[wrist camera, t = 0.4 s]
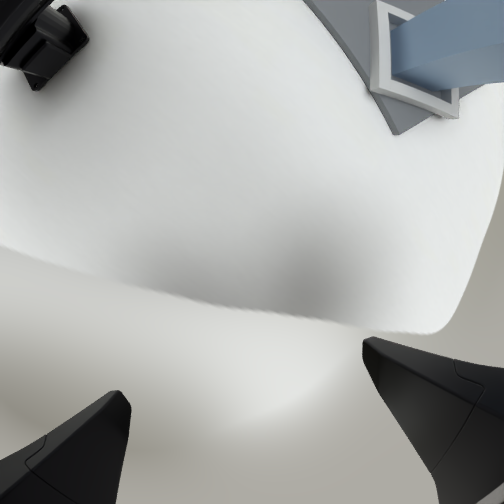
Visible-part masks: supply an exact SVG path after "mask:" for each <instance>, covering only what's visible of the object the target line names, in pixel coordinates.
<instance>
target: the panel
mask: <svg viewBox="0 0 504 504" xmlns="http://www.w3.org/2000/svg"><path fill="white" fill-rule="evenodd" d="M444 1H445V0H304V2H305V3H306V4H307V5H308V6H309V7H310V8H311V10H312V11H313V12H314V13H315V14H316V16H317V17H318V18H319V19H320V20H321V22H322V23H323V24H324V25H325V27H326V28H327V29H328V31H329V32H330V33H331V34H332V36H333V37H334V38H335V40H336V41H337V42H338V44H339V45H340V47H341V48H342V49H343V51H344V52H345V54H346V55H347V56H348V58H349V59H350V61H351V62H352V64H353V65H354V67H355V68H356V70H357V71H358V73H359V75H360V76H361V78H362V79H363V81H364V83H365V84H366V86H367V87H368V89H369V91H370V92H371V94H372V96H373V98H374V99H375V101H376V103H377V105H378V106H379V108H380V110H381V112H382V114H383V115H384V117H385V119H386V121H387V123H388V125H389V127H390V129H391V131H392V133H393V135H400V134H402V133H403V132H405V131H407V130H408V129H410V128H412V127H413V126H415V125H417V124H418V123H420V122H422V121H423V120H425V119H426V118H428V117H430V116H431V115H433V114H438V115H440V116H442V117H445V118H447V119H459V99H460V98H462V97H463V96H465V95H467V94H469V93H470V92H472V91H474V90H475V89H477V88H479V87H481V86H482V85H484V84H481V85H473V86H465V87H458V88H452V89H446V90H440V91H435V92H432V91H430V90H428V89H425V88H423V87H421V86H418V85H416V84H413V83H411V82H408V81H406V80H403V79H400V78H398V77H395V76H392V53H391V32H390V31H391V30H393V29H395V28H396V27H398V26H400V25H401V24H403V23H405V22H406V21H408V20H410V19H412V18H413V17H415V16H417V15H419V14H421V13H423V12H424V11H426V10H428V9H430V8H432V7H434V6H436V5H438V4H440V3H442V2H444Z"/></svg>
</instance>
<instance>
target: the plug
mask: <svg viewBox="0 0 504 504" xmlns="http://www.w3.org/2000/svg"><path fill="white" fill-rule="evenodd" d="M390 32H391V53H392V76H395V77H398V78H400V79H403V80H406V81H408V82H411V83H413V84H416V85H418V86H421V87H423V88H425V89H428V90H430V91H432V92H435V91H440V90H446V89H452V88H458V87H465V86H473V85H481V84H490V83H500V82H504V0H446V1H444V2H442V3H440V4H438V5H436V6H434V7H432V8H430V9H428V10H426V11H424V12H423V13H421V14H419V15H417V16H415V17H413V18H412V19H410V20H408V21H406V22H405V23H403V24H401V25H400V26H398V27H396V28H395V29H393V30H391V31H390Z"/></svg>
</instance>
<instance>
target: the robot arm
mask: <svg viewBox="0 0 504 504" xmlns="http://www.w3.org/2000/svg"><path fill="white" fill-rule="evenodd" d="M53 1H54V0H0V65H2V66H6V67H10V68H13V69H17V70H21V71H23V72H24V74H25V76H26V79H27V81H28V83H29V85H30V87H31V89H32V90H33V91H39V90H40V89H41V88H42V87H43V85H44V84H45V83H46V82H47V81H48V80H49V79H50V78H51V77H52V76H53V75H54V74H55V73H56V72H57V71H58V70H59V69H60V68H61V67H62V66H63V65H64V64H65V63H66V62H67V61H68V60H69V59H70V58H71V57H72V56H73V55H74V54H75V53H77V52H78V51H79V50H80V49H81V48H82V47H83V46H84V45H86V44H87V42H88V41H89V37H88V35H87V34H86V32H85V31H84V29H83V28H82V27H81V25H80V24H79V22H78V21H77V19H76V18H75V16H74V15H73V13H72V12H71V10H70V9H69V8H68V6H66V5H62V6H61V7H59V8H58V9H57V10H55V9H54V8H52V7H51V6H49V5H50V4H51V3H52V2H53ZM84 38H85V39H84ZM83 39H84V41H82V40H83ZM81 41H82V42H81ZM37 84H38V85H37ZM36 85H37V87H36ZM362 357H363V362H364V364H365V366H366V368H367V370H368V372H369V374H370V376H371V378H372V381H373V383H374V385H375V387H376V389H377V391H378V393H379V394H380V396H381V397H382V399H383V400H384V402H385V403H386V405H387V406H388V408H389V409H390V411H391V412H392V414H393V416H394V417H395V419H396V420H397V422H398V423H399V425H400V426H401V428H402V429H403V431H404V432H405V434H406V436H407V437H408V439H409V440H410V442H411V443H412V445H413V447H414V448H415V450H416V451H417V453H418V454H419V456H420V458H421V459H422V460H423V462H424V464H425V466H426V467H427V469H428V470H429V472H430V473H431V475H432V477H433V479H434V481H435V484H436V488H437V493H438V499H439V504H504V368H500V367H492V366H485V365H479V364H474V363H470V362H465V361H461V360H457V359H454V360H453V359H451V358H448V357H444V356H440V355H437V354H433V353H429V352H426V351H422V350H418V349H415V348H412V347H408V346H405V345H401V344H398V343H394V342H391V341H387V340H384V339H381V338H377V337H370V338H367V339H364V340H363V348H362ZM130 419H131V405H130V403H129V402H128V400H127V399H126V398H125V396H124V395H123V394H122V392H121V391H119V390H115V391H110V392H108V393H107V394H105V395H104V396H103V397H101V398H100V399H98V400H97V401H95V402H94V403H92V404H91V405H89V406H88V407H86V408H85V409H84V410H82V411H81V412H79V413H78V414H76V415H75V416H73V417H72V418H70V419H69V420H67V421H66V422H64V423H63V424H61V425H60V426H58V427H57V428H55V429H54V430H52V431H51V432H49V433H48V434H47V435H44V436H43V437H41V438H39V439H38V440H36V441H35V442H33V443H31V444H30V445H28V446H26V447H24V448H23V449H21V450H19V451H17V452H15V453H13V454H11V455H9V456H7V457H5V458H4V459H2V460H0V504H116V499H117V493H118V487H119V481H120V476H121V471H122V466H123V461H124V456H125V451H126V447H127V442H128V437H129V428H130Z"/></svg>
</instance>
